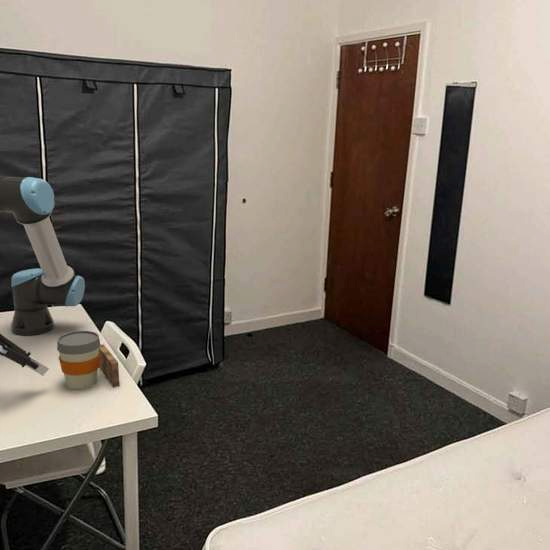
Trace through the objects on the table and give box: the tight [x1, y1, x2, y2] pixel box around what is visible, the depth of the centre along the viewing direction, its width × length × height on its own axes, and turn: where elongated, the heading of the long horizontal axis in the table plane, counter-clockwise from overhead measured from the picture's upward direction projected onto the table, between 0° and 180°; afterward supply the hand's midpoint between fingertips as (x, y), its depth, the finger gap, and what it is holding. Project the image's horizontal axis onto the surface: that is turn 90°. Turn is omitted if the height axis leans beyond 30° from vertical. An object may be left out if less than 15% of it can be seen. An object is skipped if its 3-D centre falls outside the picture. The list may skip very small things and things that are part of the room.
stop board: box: [98, 343, 120, 388], centre depth 175 cm, size 16×2×8 cm, turn 32°
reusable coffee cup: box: [56, 330, 101, 390], centre depth 169 cm, size 13×13×15 cm
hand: (45, 371), depth 164 cm, fingers closed
